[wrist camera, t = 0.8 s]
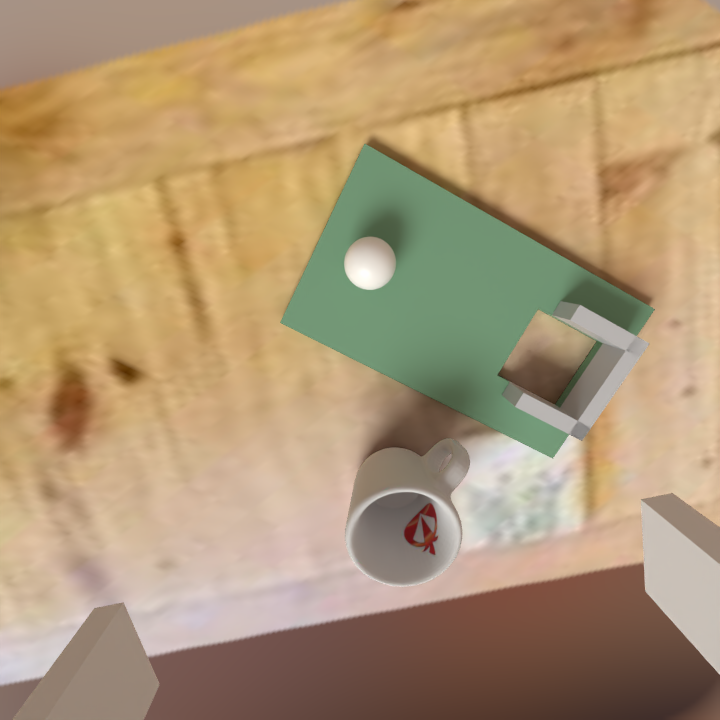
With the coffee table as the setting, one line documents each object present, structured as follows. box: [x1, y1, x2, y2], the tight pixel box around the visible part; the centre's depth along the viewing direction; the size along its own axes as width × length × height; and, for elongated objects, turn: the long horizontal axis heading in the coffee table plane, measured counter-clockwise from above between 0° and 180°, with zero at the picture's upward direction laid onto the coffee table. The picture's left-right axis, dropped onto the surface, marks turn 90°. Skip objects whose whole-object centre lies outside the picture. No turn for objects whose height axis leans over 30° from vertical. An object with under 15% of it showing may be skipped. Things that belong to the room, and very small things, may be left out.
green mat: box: [280, 144, 655, 458], centre depth 31 cm, size 25×14×1 cm, turn 63°
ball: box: [344, 237, 396, 290], centre depth 28 cm, size 4×4×4 cm
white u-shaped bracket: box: [502, 301, 649, 441], centre depth 31 cm, size 6×8×4 cm
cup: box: [345, 438, 470, 587], centre depth 30 cm, size 11×8×8 cm
